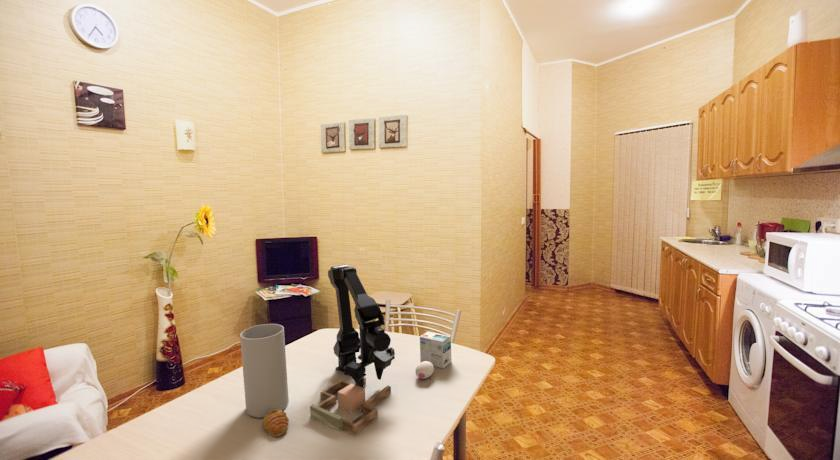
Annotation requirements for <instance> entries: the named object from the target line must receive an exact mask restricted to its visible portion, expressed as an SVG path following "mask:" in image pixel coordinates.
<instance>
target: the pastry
mask: <svg viewBox="0 0 840 460" xmlns="http://www.w3.org/2000/svg"><path fill="white" fill-rule="evenodd" d="M262 427H263V429H264V431H265V432H266V433H267V434H268V435H270V436H271V437H274V438H278V437H280V436H282V435H284V434H286V433H287V431H288V429H289V418H288V416H287V413H286V412H285V411H283V410H282V411H281V410H279V409H275V410H272V411H270V412H269V413H267V414H266V415H265V417H263V418H262Z"/></svg>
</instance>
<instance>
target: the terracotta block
mask: <svg viewBox="0 0 840 460" xmlns="http://www.w3.org/2000/svg"><path fill="white" fill-rule="evenodd" d="M365 401H366V388H364V387H363V388H362V387H359V386H357V385H354V384H350V385H348V386H346V387H345V388H343V389H342V390H340V391H338V400H337V405H338V408H341V409H343V410H344V411H347V412H349V413H352V414H353V413H354V412H356V411H357V410H358V409H360V405H361V404H362V403H364V402H365Z"/></svg>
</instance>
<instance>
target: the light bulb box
mask: <svg viewBox="0 0 840 460" xmlns="http://www.w3.org/2000/svg"><path fill="white" fill-rule="evenodd" d="M419 349H420V350H419V352H420V353H419V354H420V355H419V358H420V359H419V361H420V362H419V363H421V362H424V361H429V362H431V363H432V364H433V366H434V367H436V368H440V369H445V367H446V368H447V366H448V365H450V364H451V363H452V336H451V335H448V334H443V333H436V332H433V331H429V330H428V331H426V332H425V333H423V334H421V335H420V336H419Z"/></svg>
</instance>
